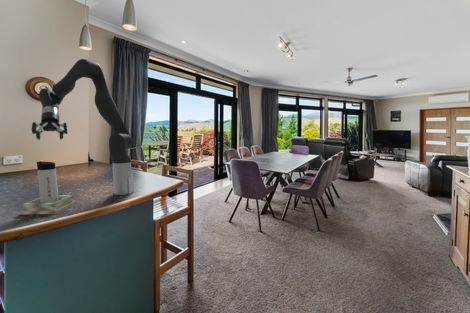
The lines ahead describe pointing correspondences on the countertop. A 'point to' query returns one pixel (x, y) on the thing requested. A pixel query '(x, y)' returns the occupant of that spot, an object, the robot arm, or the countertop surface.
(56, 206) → the green square tray
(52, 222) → the countertop surface
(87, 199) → the countertop surface
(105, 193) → the countertop surface
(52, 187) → the travel mug
